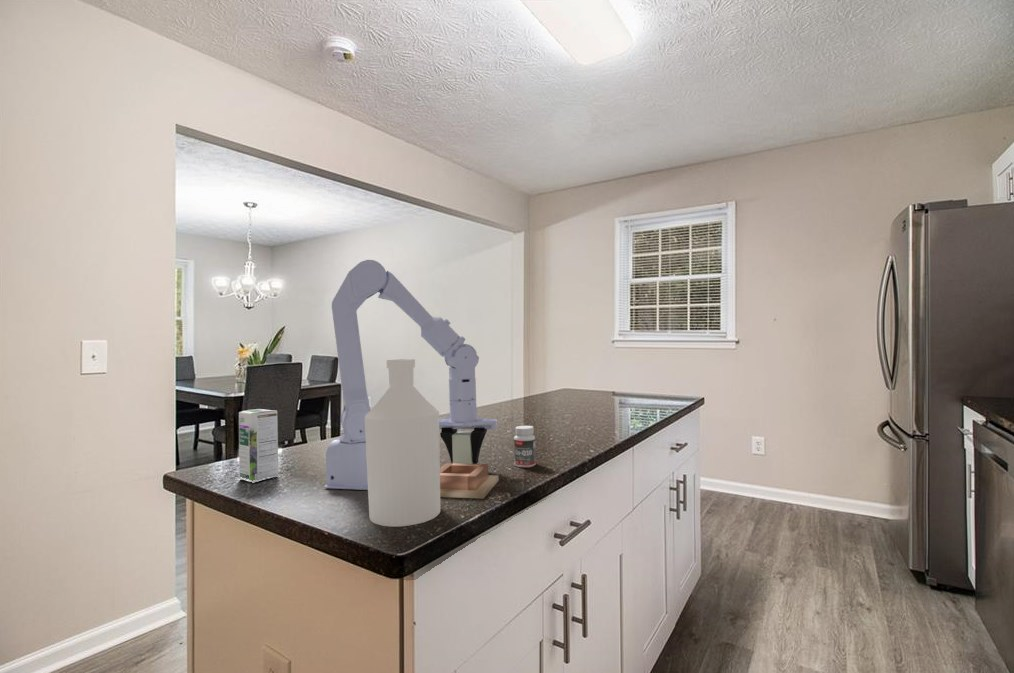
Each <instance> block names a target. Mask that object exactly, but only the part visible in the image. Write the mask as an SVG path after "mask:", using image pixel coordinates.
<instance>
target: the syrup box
mask: <svg viewBox="0 0 1014 673" xmlns="http://www.w3.org/2000/svg"><path fill="white" fill-rule="evenodd" d="M278 422H279V421H278V410H275V409H274V410H273V409H272V410H271V409H263V408H256V409H253V408H252V409H247V410H242V411H239V412H238V458H239V459H238V460H239V461H238V463H239V465H238V466H239V468H238V470H239V478H240V477H242V478H246V479H249V480H252V481H253V480H258V479H262V478H267V477H272V476H275V475H278V476H279V442H278V441H279V439H278V438H279V432H278V431H279V430H278V428H279V426H278V424H279V423H278Z"/></svg>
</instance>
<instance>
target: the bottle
mask: <svg viewBox="0 0 1014 673" xmlns="http://www.w3.org/2000/svg"><path fill="white" fill-rule="evenodd" d="M414 368H416V359H415V358H406V359H405V358H404V359H386V369H388V379H389V380H388V382H389V387H388V389H387V391H385V392H384V394H383V395H382V396H381V398H379V400H378V401H377V403H376V404H375V405H374V406H373V407H372V408H370V409H371V410H370V411H369V412H368V413H367V414H366V415H365V435H366V457H367V478H368V490H367V496H368V499H367V500H368V514H369V515H368V516H369V518H368V519H369V520H370V522H371V523H373V524H376V525H379V526H383V527H407V526H412V525H415V526H416V525H418V524H419V525H420V524H422V523H426V522H428V521H430V520H433V519H435V518H437V517H438V515H439V514H440V513H441V497H440V468H441V460H440V459H441V456H440V455H441V454H440V453H441V452H440V451H441V450H440V448H441V447H440V445H441V444H440V429H439V419H440V412H439V410H438V409H437V408H436V407H434V405H433V404H431V403H430V402H429V401H428V400H427V399H426V398H425V397H424V395H423V394H421V393H420V391H419V390H418V389H417V388H416V387H415V386H414Z"/></svg>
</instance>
